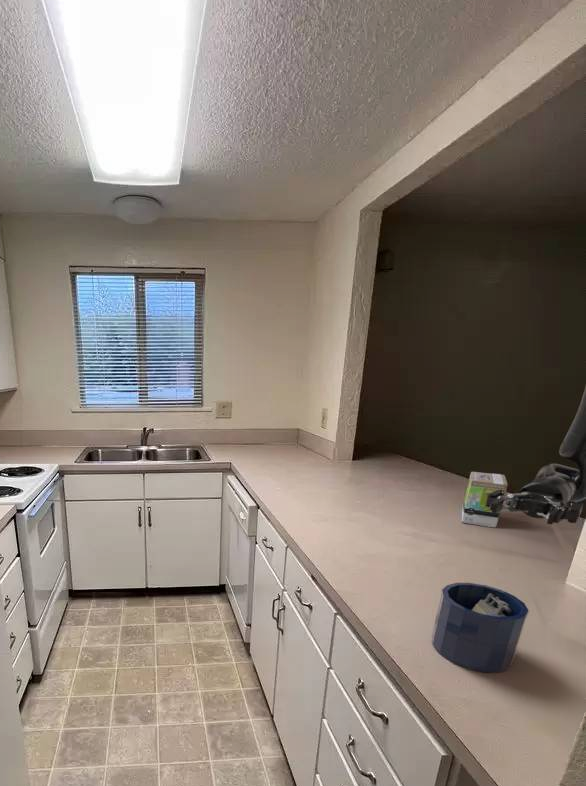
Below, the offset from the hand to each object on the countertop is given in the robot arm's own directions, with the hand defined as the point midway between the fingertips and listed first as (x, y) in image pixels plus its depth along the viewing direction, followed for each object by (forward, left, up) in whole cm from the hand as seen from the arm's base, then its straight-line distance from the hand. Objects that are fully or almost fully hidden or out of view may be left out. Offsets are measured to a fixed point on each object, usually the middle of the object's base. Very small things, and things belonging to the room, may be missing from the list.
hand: (521, 513), depth 80 cm
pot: (+11, +4, -25) cm, 27 cm away
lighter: (+11, +3, -24) cm, 26 cm away
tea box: (-58, -45, -25) cm, 78 cm away
